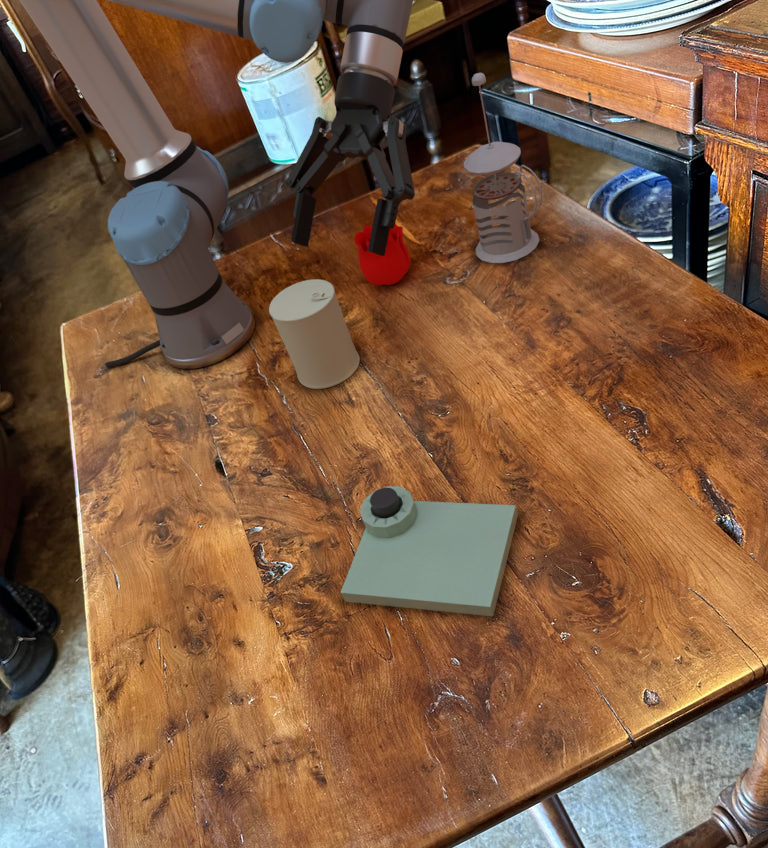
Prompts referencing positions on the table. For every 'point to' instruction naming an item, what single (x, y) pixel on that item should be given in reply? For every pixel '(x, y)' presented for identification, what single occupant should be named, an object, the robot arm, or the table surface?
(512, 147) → the french press
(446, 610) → the scale
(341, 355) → the can
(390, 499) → the button
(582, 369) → the table surface
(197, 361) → the robot arm
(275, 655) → the table surface
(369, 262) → the flower
